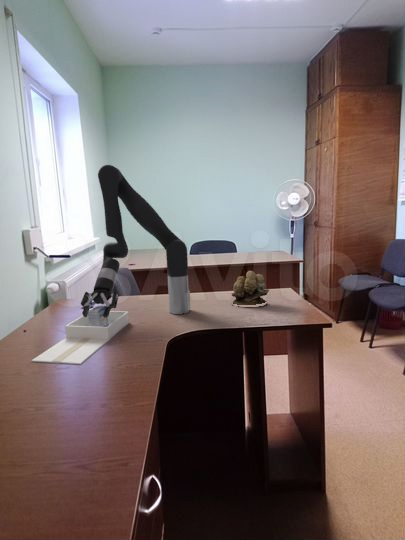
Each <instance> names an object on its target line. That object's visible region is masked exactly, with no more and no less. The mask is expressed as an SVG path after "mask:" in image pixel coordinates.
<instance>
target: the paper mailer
mask: <svg viewBox="0 0 405 540" xmlns="http://www.w3.org/2000/svg"><path fill="white" fill-rule="evenodd" d="M108 322H109V326H107V327H94V326H89V319H88V315H87V317H84V316H83V315H81V316H79V317H78V318H76V319H74V320H73V321H71V322H69V323H67V324H66V325H65V326H64V329H65V338H64V339H62V340H61V341H58V342H57V343H56V344H54V345H53V346H51V347H50V348H49V349H46V350H45V351H44V352H42V353H40V354H39V355H38V356H36V357H34V358H33V359H31V362H33V363H50V364H65V365H67V364H68V365H70V364H71V365H82V364H84V362H85V361H86V360H88V359H89V358H90V357H91V356H93V355H94V354H95V353H96V352H97V351H99V349H101V348H102V347H103V346H104V345H105V344H107V343H108V342H109V341H110V340H111V339H112V338H113V337H116V335H117V334H118V333H120V332H121V331H122V330H123V329H124V328H126V326H129V324H130V312H129V311H123V310H121V311H118V310H117V311H116V310H110V313H109V316H108Z"/></svg>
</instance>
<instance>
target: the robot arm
mask: <svg viewBox="0 0 405 540" xmlns="http://www.w3.org/2000/svg"><path fill="white" fill-rule="evenodd" d="M97 179H98V181H99V187H100V190H101V194H102V200H103V207H104V208H103V209H104V220H105V233H106V236H107V237H109V238H113V239H114V240H116V242H115V241H114V242H113V241H111V242H106V244H104V246H103V249H102V251H103V253H102V254H103V256H102V257H103V258H102V264H101V268H100V271H99V272H98V275H97V277H96V280H95V284H94V286H93V291H92V292H91V293H90V292H88V291H85V292H84V294H83V297H82V300H81V301H80V305H81V306H82V307H83V309H82V316H84V317H87V315H88V311H90V308H92V307H93V306H95V305H99V304H101V305H104V304H105V306H107V307H105V310H104V314H103V316H104V318H107V316H109V313H110V311H112V309H116V308H117V306H118V301H119V295H118V293H117V292H116V291H115V292H113V291H114V288H115V284H116V281H117V277H118V272H119V269H120V262H119V261H118V260H117V259H124V258H125V259H126V257H127V256H128V255H129V246H128V243H127V242H126V239H125V236H124V235H125V234H124V232H123V231H124V229H123V219H122V212H121V209H120V204H119V200H120V201H121V202H122V203H123V205H124V206H125V208H126V210H127V211H128V212H129V214H130V215H131V216H132V218H133V219H134V220H135V221H136V222H137V223H138V224H139V226H141V228H143V229H144V230H145V231H146V232H147V233H149V234H150V235H151V236H152V237H154V238H155V239H156V240H157V241H158V242H159V243H160V244H161V246H162V247H163V248H164V250H165V253H166V256H165V257H166V270H167V288H168V290H167V291H168V305H169V307H168V308H169V313H170V314H172V315H183V313H184V314H189V312H190V311H191V310H190V309H191V292H190V289H189V288H190V287H189V265H188V264H189V262H188V260H189V259H188V248H187V245H186V243H185V242H184V241H183V240H182V239H181V238H179V237H178V236H177V235H176V234H175V233H174V232H173V231H172V230H171V229H170V228H169V227H168V226H167V223H165V221H164V220H163V219H162V218H161V216H160V215H159V213H158V212H157V211H156V210H155V209H154V207H153V206H152V205H151V204H150V203H149V202H148V201H147V200H146V199H145V198H144V197H143V195H142V196H141V194H140V193H139V192H137V191H136V190H135V189H134V188H133V187H132V186H131V184H130V183H129V182H128V180H127V179H126V177H125V176H124V174H123V173H122V172H121V170H120V169H119V168H118V167H116V166H114V165H112V164H105V165H103V166H101V167H100V168H99V170H98V173H97ZM110 299H111V301H110ZM110 302H111V303H110ZM189 310H190V311H189Z"/></svg>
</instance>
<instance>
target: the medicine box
mask: <svg viewBox="0 0 405 540" xmlns="http://www.w3.org/2000/svg"><path fill="white" fill-rule="evenodd" d="M105 307H107V306H106V305H97V306H95V307H93V308H92V309H89V311H88V319H89V326H94V327H107V326H109V322H108V316H107V318H104V316H103V314H104V310H105Z"/></svg>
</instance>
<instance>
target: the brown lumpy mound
mask: <svg viewBox="0 0 405 540" xmlns="http://www.w3.org/2000/svg"><path fill="white" fill-rule="evenodd" d="M265 288H266V283H265V277H264V275H263V274H260V273H257V274H256V272H254V271H253V270H248V271H247V272H246V275H245V276H241V275H240V276H238V277H237V279H236V281H235V283H234V284H233V293H231V296H232V297H234V298H235V299H233V301H232V302H233V304H237V305H256V304H262V303H265V302H267V301H266V300H265V299H264V298H263V296H267V295H268V293H269V292H270V289H267V288H266V289H265Z"/></svg>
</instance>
